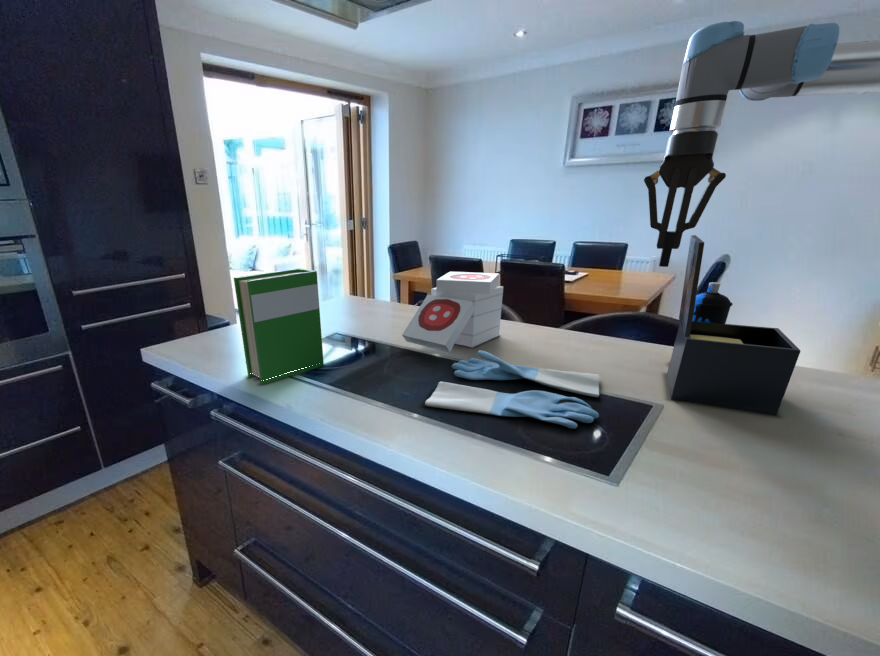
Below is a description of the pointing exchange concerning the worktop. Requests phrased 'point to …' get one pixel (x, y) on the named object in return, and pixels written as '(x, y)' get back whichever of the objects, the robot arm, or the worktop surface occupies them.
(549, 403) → the rubber gloves
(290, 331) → the hardback book
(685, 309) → the bin lid
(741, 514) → the worktop surface
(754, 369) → the bin
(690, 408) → the worktop surface
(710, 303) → the aerosol can
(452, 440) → the worktop surface
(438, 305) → the pizza boxes
